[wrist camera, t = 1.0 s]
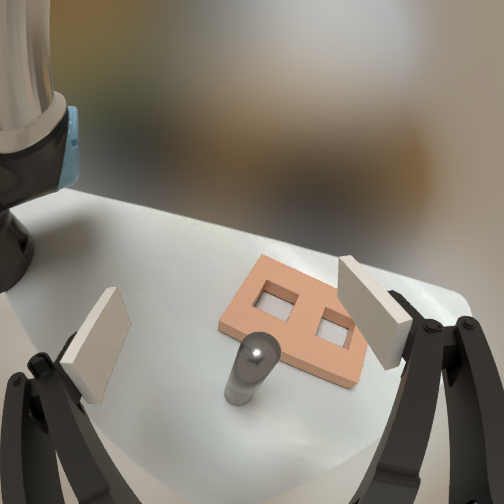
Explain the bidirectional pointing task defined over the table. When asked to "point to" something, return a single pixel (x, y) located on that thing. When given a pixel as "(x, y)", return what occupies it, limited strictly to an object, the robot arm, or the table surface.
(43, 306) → the table surface
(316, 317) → the terracotta block
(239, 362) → the steel dowel
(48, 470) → the robot arm
